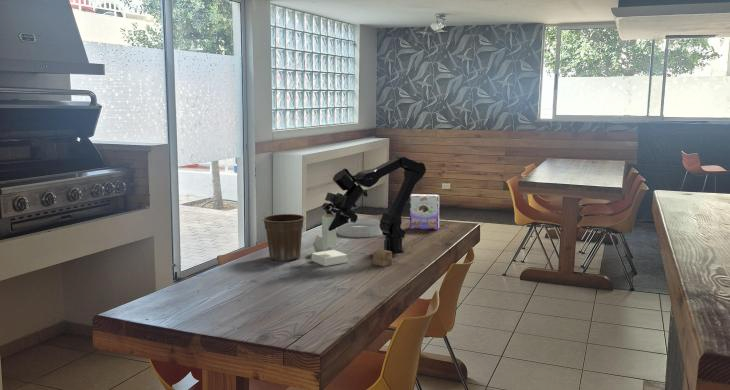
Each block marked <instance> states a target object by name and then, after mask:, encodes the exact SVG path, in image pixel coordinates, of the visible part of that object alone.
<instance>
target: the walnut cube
mask: <svg viewBox="0 0 730 390" xmlns="http://www.w3.org/2000/svg"><path fill="white" fill-rule="evenodd" d="M372 254H373V255H372V256H373V257H372V260H373V261H372V262H373V263H372V265H374V266H378V265H379V266H380V267H387V266H390V265H393V253H392V251H387V250H383V249H379V250H374V251H373V252H372ZM379 266H378V267H379Z"/></svg>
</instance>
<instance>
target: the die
mask: <svg viewBox="0 0 730 390" xmlns="http://www.w3.org/2000/svg"><path fill="white" fill-rule="evenodd" d="M312 246H313V248H314V252H315V253H316V252H322V251H329V250H334V247H328V248H327V247H325V246H322V234H318V235H316V236H315V239H314V241H313V243H312Z"/></svg>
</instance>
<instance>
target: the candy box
mask: <svg viewBox="0 0 730 390" xmlns="http://www.w3.org/2000/svg"><path fill="white" fill-rule="evenodd" d="M439 228H440V194H431V193H430V194H423V193H422V194H421V193H411V195H410V197H409V229H411V230H412V229H413V230H433V231H434V230H435V231H436V230H438V231H439Z"/></svg>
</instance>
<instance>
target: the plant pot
mask: <svg viewBox="0 0 730 390" xmlns="http://www.w3.org/2000/svg"><path fill="white" fill-rule="evenodd" d="M304 220H305V216H304V215H303V214H302V215H301V214H296V213H295V214H293V213H282V214H272V215H267V216H264V217H262V221H263V223H264V224H263V225H264V230H265V232H266V239H267V247H268V255H269V258H270V260H274V261H277V262H288V261H294V260H297V259H299V258H301V253H302V252H301V251H302V238H303V237H302V233H303V228H304Z"/></svg>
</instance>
